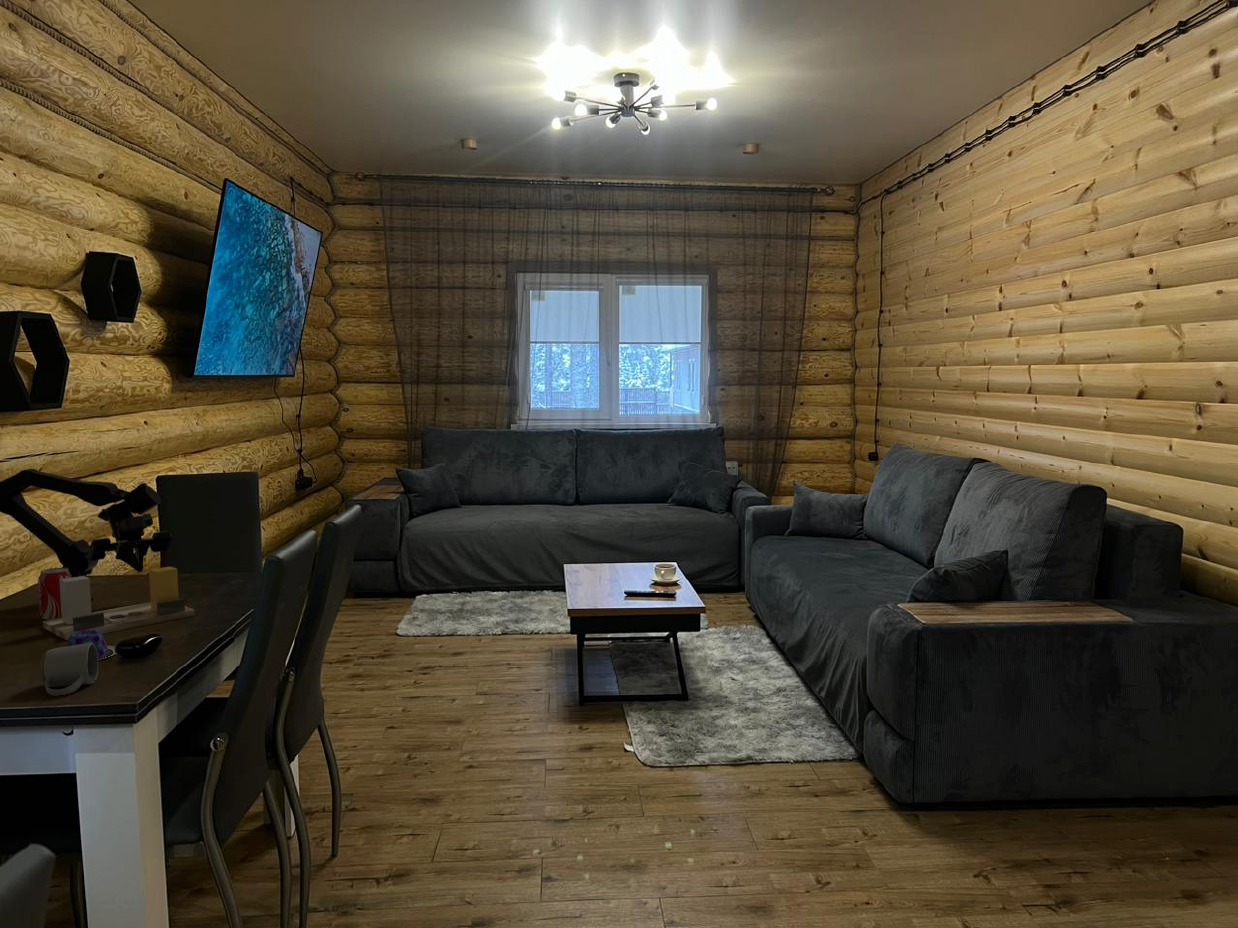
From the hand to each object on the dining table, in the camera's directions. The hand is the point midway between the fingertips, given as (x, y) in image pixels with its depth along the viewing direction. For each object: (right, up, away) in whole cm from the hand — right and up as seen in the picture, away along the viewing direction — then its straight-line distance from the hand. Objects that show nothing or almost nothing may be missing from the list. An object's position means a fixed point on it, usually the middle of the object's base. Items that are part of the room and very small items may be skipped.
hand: (140, 571), depth 222 cm
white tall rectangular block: (-5, -10, -19) cm, 22 cm away
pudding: (+10, -14, -39) cm, 43 cm away
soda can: (-15, -11, -9) cm, 21 cm away
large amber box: (+10, -9, -8) cm, 16 cm away
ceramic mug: (+19, -15, -58) cm, 63 cm away
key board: (+2, -11, -12) cm, 16 cm away
